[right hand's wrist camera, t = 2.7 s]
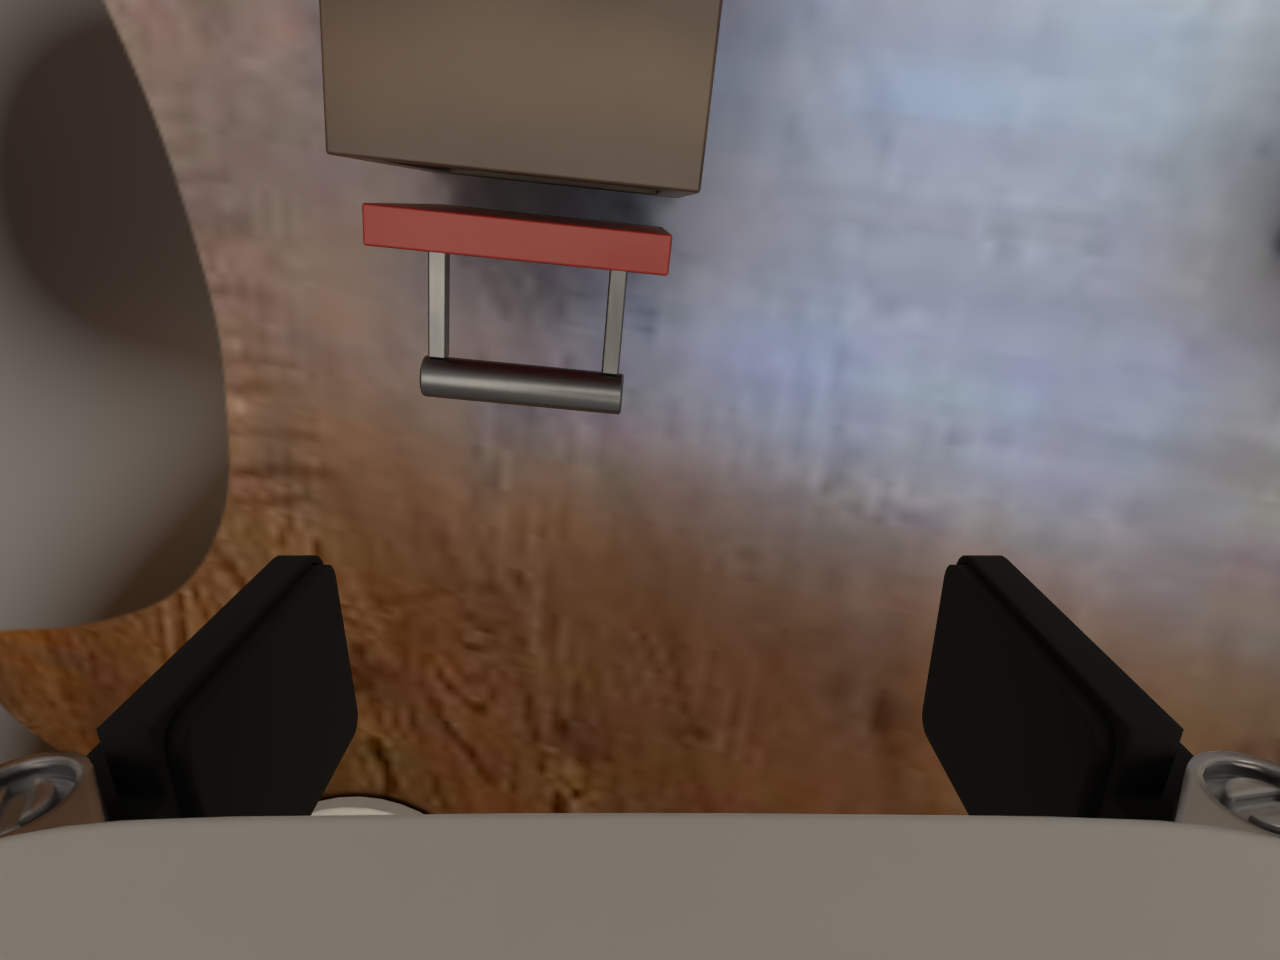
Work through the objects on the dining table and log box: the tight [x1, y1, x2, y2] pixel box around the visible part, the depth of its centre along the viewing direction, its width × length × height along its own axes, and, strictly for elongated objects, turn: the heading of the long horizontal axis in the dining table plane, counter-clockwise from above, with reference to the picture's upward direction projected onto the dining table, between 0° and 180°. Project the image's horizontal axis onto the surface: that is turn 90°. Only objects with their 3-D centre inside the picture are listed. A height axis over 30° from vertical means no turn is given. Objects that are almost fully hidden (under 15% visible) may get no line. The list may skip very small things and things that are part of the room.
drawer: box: [362, 203, 672, 414], centre depth 24 cm, size 24×9×9 cm, turn 174°
